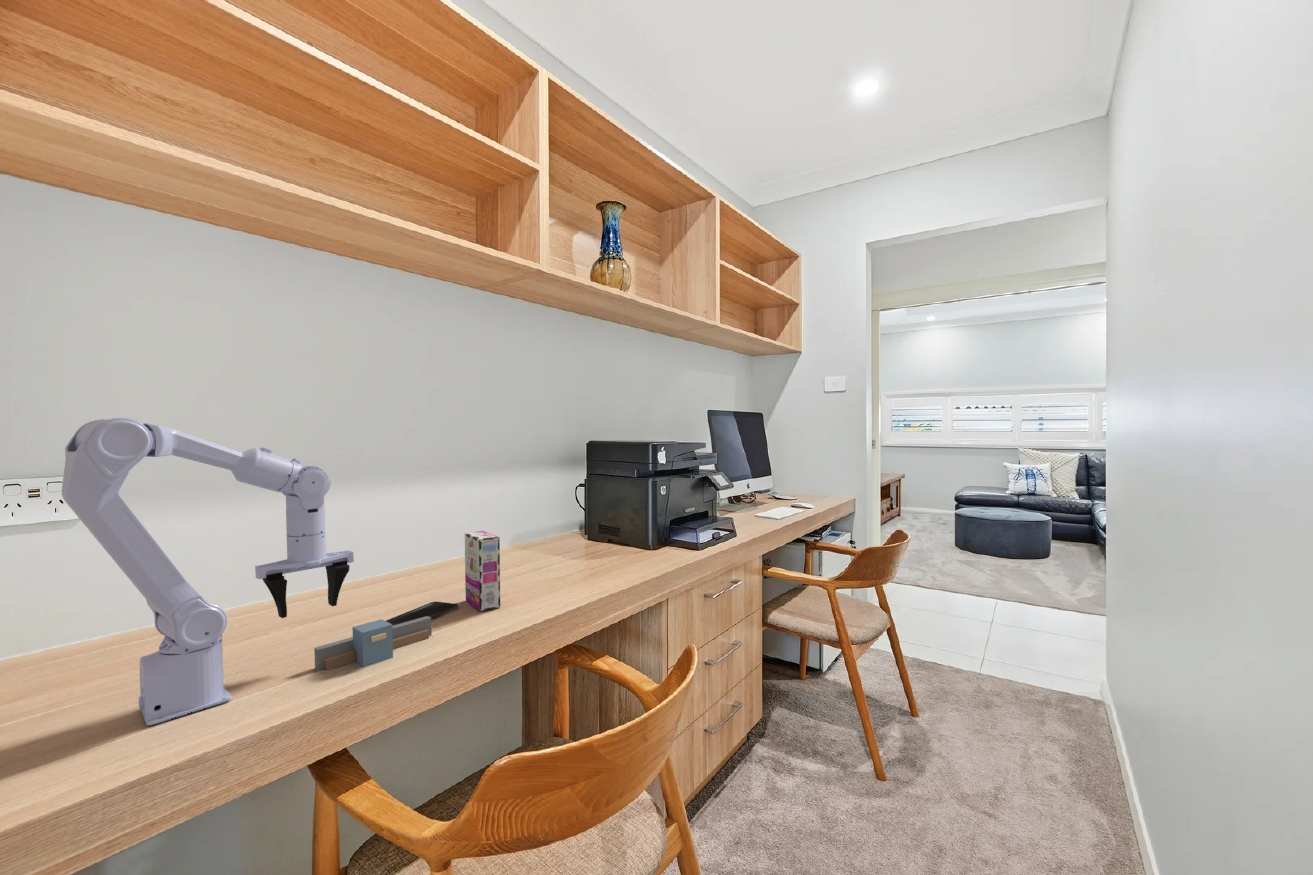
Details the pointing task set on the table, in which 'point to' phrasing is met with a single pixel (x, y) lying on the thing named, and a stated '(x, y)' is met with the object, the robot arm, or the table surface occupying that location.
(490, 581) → the candy bar box
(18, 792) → the table surface
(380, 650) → the cabinet
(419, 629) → the grey and brown bar
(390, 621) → the phone
